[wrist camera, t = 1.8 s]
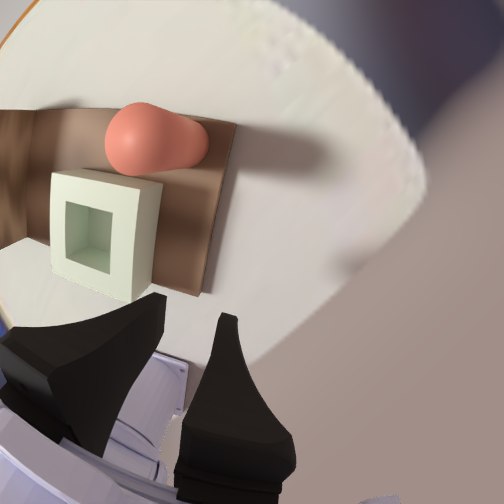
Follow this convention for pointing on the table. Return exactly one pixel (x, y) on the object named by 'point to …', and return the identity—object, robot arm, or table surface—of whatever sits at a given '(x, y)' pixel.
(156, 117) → the dowel
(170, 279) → the board
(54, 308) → the table surface
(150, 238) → the block
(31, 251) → the table surface
